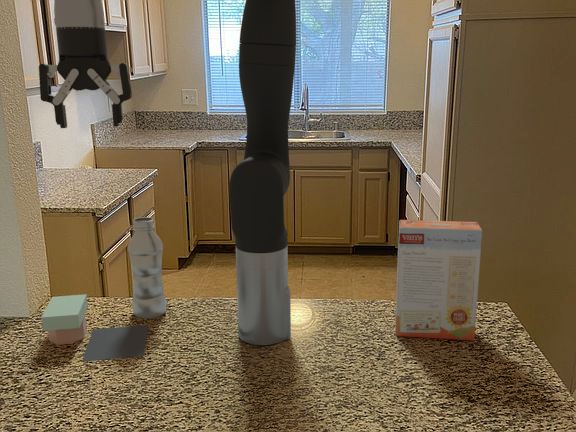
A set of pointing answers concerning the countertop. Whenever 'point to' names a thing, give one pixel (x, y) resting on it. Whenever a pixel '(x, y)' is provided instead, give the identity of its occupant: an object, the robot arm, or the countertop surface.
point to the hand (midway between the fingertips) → (90, 127)
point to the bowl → (68, 334)
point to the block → (64, 312)
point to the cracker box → (437, 279)
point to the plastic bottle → (146, 270)
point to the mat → (116, 343)
